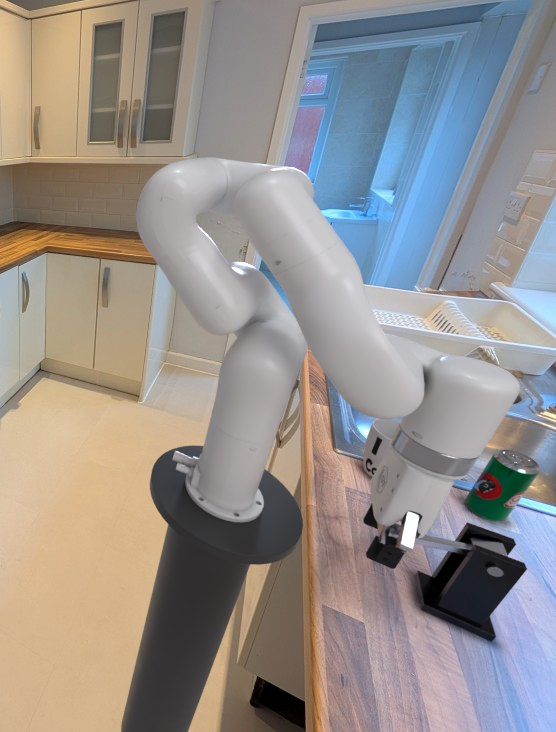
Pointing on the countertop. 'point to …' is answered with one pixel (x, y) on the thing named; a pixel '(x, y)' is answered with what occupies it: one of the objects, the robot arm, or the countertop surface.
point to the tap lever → (452, 543)
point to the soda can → (501, 485)
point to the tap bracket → (470, 583)
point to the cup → (378, 443)
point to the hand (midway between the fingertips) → (378, 543)
